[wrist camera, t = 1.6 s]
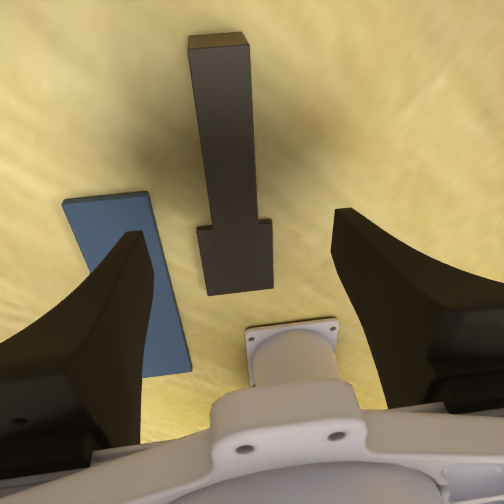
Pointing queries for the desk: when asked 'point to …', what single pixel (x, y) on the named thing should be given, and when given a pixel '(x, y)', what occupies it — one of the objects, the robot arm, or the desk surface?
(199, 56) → the tall dark brown pillar
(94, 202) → the blue board
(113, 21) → the desk surface
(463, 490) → the robot arm
